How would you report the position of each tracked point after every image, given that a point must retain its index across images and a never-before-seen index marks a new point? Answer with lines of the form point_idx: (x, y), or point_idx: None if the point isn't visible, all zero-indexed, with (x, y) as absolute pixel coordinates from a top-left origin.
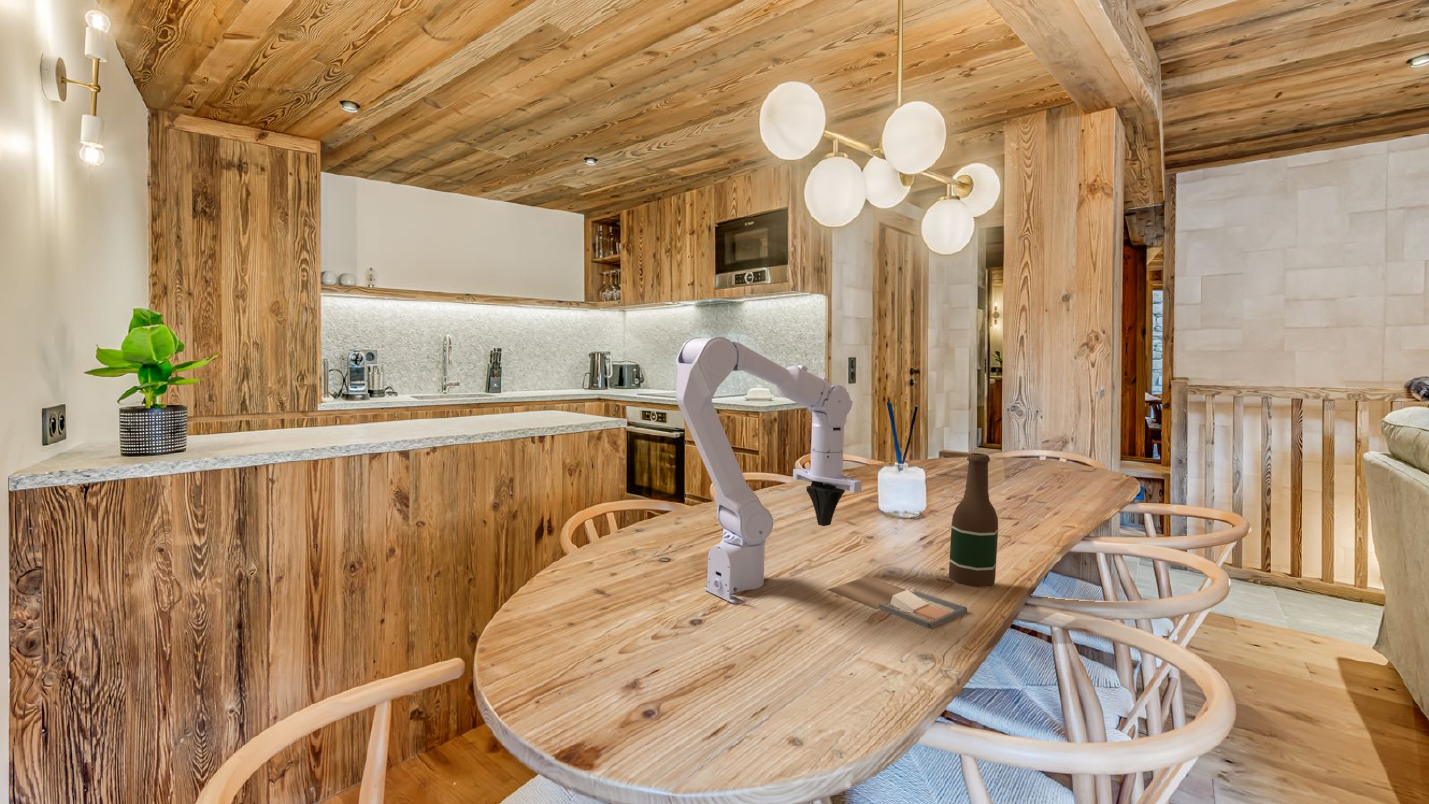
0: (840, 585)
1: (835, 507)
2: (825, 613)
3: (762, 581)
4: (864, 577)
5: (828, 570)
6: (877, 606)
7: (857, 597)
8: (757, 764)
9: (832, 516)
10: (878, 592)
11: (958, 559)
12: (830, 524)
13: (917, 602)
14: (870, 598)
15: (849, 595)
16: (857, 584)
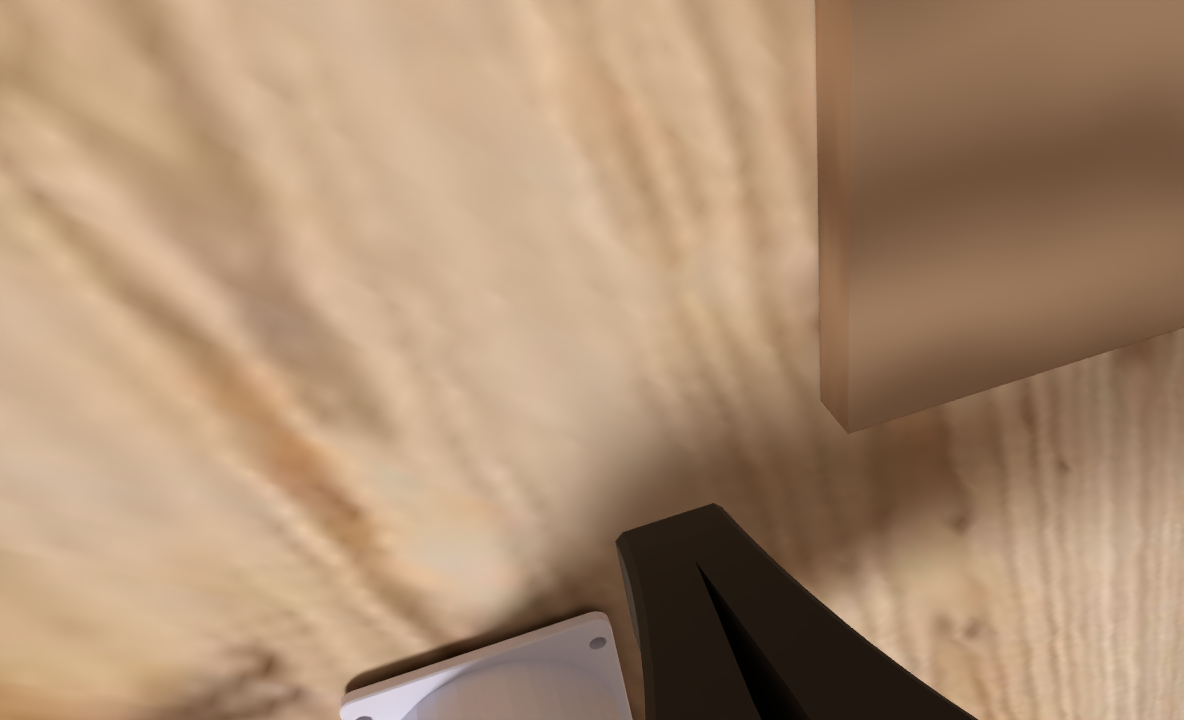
0: (853, 322)
1: (909, 679)
2: (942, 484)
3: (609, 718)
4: (855, 43)
5: (367, 76)
6: (1177, 300)
7: (1038, 332)
8: None
9: (788, 577)
10: (1091, 157)
11: None
12: (723, 509)
13: None
14: (1099, 269)
15: (990, 358)
16: (915, 202)
